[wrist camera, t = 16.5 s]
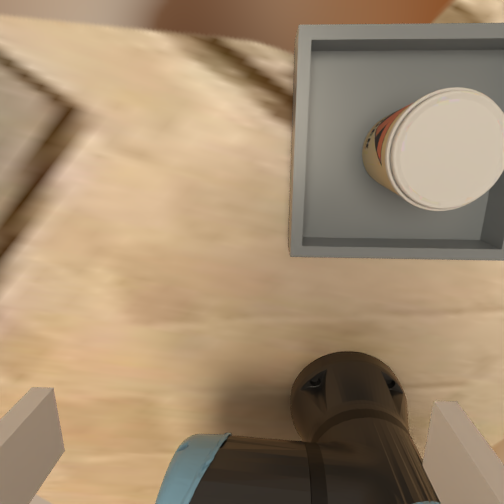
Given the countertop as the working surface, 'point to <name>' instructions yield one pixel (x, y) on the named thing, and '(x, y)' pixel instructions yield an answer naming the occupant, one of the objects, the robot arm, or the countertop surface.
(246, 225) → the countertop surface
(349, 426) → the robot arm
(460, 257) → the walled box
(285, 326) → the countertop surface
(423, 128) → the coffee cup
